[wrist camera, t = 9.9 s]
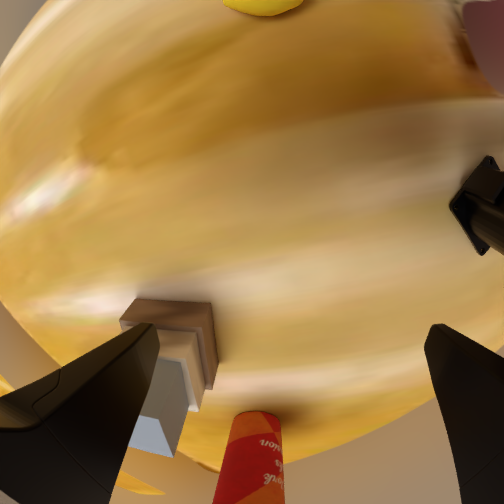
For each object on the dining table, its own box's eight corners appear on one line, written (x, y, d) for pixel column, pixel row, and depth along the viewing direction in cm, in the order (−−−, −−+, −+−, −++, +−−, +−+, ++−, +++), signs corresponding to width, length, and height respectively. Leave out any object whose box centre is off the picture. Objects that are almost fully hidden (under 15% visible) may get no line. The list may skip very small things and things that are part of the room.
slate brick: (180, 362, 18) (158, 419, 13) (189, 406, 20) (173, 457, 15) (116, 350, 18) (85, 398, 14) (131, 394, 20) (109, 440, 15)
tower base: (211, 302, 23) (191, 354, 17) (218, 363, 26) (205, 415, 20) (135, 298, 24) (101, 342, 18) (151, 356, 27) (128, 403, 21)
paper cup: (287, 439, 30) (285, 535, 18) (227, 437, 31) (211, 531, 18) (291, 405, 28) (291, 522, 15) (220, 402, 28) (197, 516, 15)
